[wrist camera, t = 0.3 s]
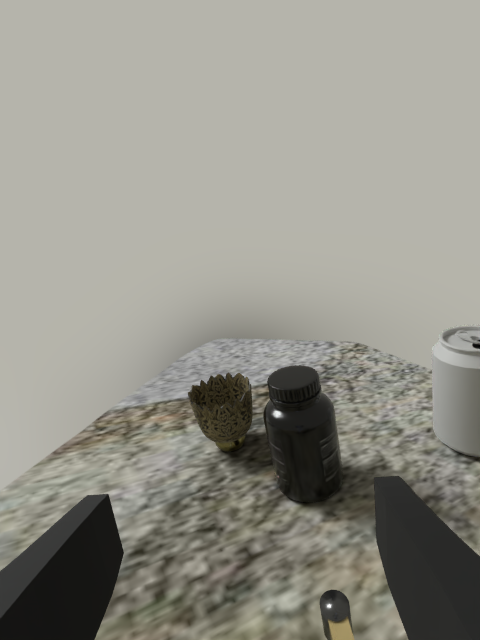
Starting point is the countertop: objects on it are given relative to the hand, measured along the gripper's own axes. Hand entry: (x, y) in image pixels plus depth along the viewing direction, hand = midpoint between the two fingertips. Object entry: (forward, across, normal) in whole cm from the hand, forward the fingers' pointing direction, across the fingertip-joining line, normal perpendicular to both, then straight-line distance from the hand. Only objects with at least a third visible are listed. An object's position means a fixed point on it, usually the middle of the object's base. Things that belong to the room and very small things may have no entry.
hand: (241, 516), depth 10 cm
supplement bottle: (+26, -3, +20) cm, 33 cm away
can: (+29, -21, +19) cm, 40 cm away
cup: (+33, +6, +20) cm, 39 cm away
